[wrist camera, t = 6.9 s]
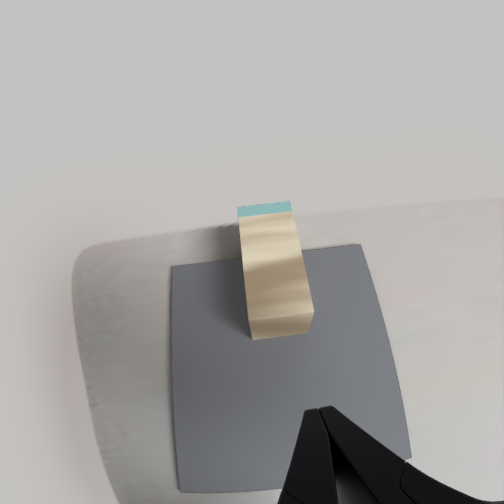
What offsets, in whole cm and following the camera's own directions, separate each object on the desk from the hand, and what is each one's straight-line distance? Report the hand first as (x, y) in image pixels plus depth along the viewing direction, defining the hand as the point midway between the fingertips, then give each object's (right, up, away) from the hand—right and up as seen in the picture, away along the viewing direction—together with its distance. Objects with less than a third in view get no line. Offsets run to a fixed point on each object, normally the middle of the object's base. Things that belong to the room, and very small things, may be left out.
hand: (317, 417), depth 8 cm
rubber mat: (0, -3, +13) cm, 13 cm away
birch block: (0, 0, +12) cm, 12 cm away
